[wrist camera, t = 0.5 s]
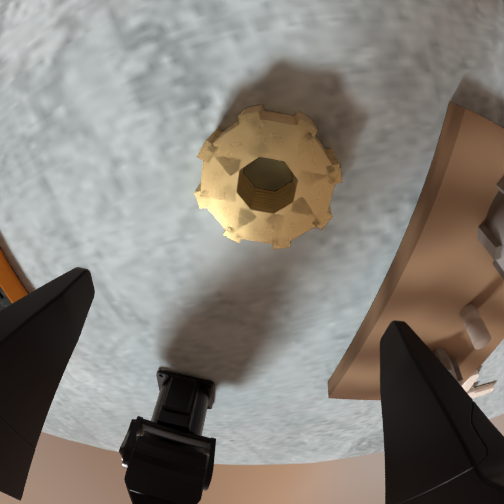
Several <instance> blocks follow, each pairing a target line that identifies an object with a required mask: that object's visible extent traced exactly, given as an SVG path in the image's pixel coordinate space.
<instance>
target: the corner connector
mask: <svg viewBox="0 0 504 504" xmlns="http://www.w3.org/2000/svg"><path fill="white" fill-rule="evenodd" d="M478 376H479V373H478V370H476V371H475V372H474V373H473V374H472V375H471V376H470V377H469V378H468V380H467V381H466V382H465V383H464V384H463V385H462V387H463V389H464V390H465V391H466V392H467V393H468V395H469V396H470V397H471V398H474V397H477V396H481V395H484V394H487V393H490V392H492V391H493V389H494V385H493V383H489V384H486V385H483V386H479V387H476V388H474V385H473V384H474V382H475V381H476V379H477V377H478Z"/></svg>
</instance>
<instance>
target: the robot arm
mask: <svg viewBox="0 0 504 504" xmlns="http://www.w3.org/2000/svg"><path fill="white" fill-rule="evenodd" d="M94 294H95V290H94V285H93V281H92V277H91V273H90V271H89V270H88V269H85V268H81V267H76V268H74V269H72V270H70V271H69V272H67V273H65V274H63V275H61V276H59V277H58V278H56V279H54V280H52V281H50V282H49V283H47V284H45V285H43V286H41V287H40V288H38V289H36V290H34V291H33V292H31V293H29V294H27V295H26V296H24V297H22V298H21V299H19V300H17V301H15V302H14V303H12V304H10V305H9V306H7V307H5V308H4V309H2V310H0V491H1V492H3V493H5V494H7V495H9V496H11V497H13V498H15V499H18V500H21V498H22V495H23V491H24V487H25V483H26V479H27V476H28V472H29V469H30V465H31V462H32V458H33V455H34V452H35V448H36V445H37V442H38V439H39V436H40V433H41V430H42V428H43V425H44V422H45V419H46V416H47V414H48V411H49V408H50V406H51V403H52V400H53V398H54V395H55V393H56V390H57V388H58V385H59V383H60V380H61V378H62V376H63V373H64V371H65V369H66V366H67V364H68V362H69V359H70V357H71V355H72V353H73V350H74V348H75V346H76V344H77V341H78V339H79V337H80V334H81V331H82V328H83V326H84V323H85V320H86V317H87V314H88V312H89V309H90V306H91V304H92V301H93V298H94ZM156 375H157V380H158V385H159V390H160V393H159V396H158V399H157V403H156V406H155V409H154V412H153V416H152V419H151V421H149V420H146V419H143V417H140V416H138V417H137V419H132V421H131V423H130V426H129V429H128V432H127V434H126V436H125V438H124V441H123V443H122V445H121V447H120V449H119V453H120V454H121V456H122V461H123V462H122V467H124V468H126V469H127V471H126V475H125V483H126V487H127V490H128V493H129V495H130V498H131V501H132V504H197V503H198V502H199V501H200V500H201V496H202V491H203V490H207V489H208V487H209V485H210V482H211V478H212V473H213V466H214V456H215V445H216V439H215V438H208V437H204V436H202V431H203V426H204V421H205V416H206V411H207V409H212V404H213V393H214V383H213V382H211V381H207V380H202V379H197V378H192V377H187V376H183V375H178V374H174V373H169V372H165V371H161V370H158V371H157V374H156ZM380 395H381V406H382V418H383V432H384V451H385V491H386V492H385V504H504V436H503V435H502V434H501V433H500V432H499V431H498V430H497V428H496V427H495V426H494V425H493V424H492V423H491V422H490V420H489V419H488V418H487V417H486V416H485V414H484V413H483V412H482V411H481V410H480V408H479V407H478V406H477V404H476V403H475V402H474V401H473V400H472V398H471V397H470V396H469V395H468V393H467V392H466V391H465V390H464V389H463V387H462V386H461V385H460V384H459V382H458V381H457V380H456V379H455V378H454V377H453V375H452V374H451V373H450V372H449V371H448V369H447V368H446V367H445V366H444V365H443V364H442V362H441V361H440V360H439V359H438V358H437V357H436V355H435V354H434V353H433V352H432V351H431V350H430V349H429V347H428V346H427V345H426V344H425V343H424V342H423V341H422V340H421V338H420V337H419V336H418V335H417V334H416V333H415V332H414V331H413V330H412V328H411V327H410V326H409V325H408V324H407V323H406V322H405V321H398V320H393V321H391V322H390V324H389V326H388V327H387V329H386V331H385V332H384V334H383V336H382V337H381V340H380ZM141 435H142V436H141Z"/></svg>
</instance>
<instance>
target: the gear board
mask: <svg viewBox="0 0 504 504" xmlns="http://www.w3.org/2000/svg"><path fill="white" fill-rule="evenodd" d="M393 320H398V321H405V322H406V323H407V324H408V325H409V326H410V327H411V328H412V330H413V331H414V332H415V333H416V334H417V335H418V336H419V337H420V338H421V340H422V341H423V342H424V343H425V344H426V345H427V346H428V347H429V349H430V350H431V351H432V352H433V353H434V354H435V355H436V357H437V358H438V359H439V360H440V361H441V362H442V364H443V365H444V366H445V367H446V368H447V369H448V371H449V372H450V373H451V374H452V375H453V377H454V378H455V379H456V380H457V381H458V382H459V384H460V385H461V386H462V385H463V384H464V383H465V382H466V381H467V380H468V378H469V377H470V376H471V375H472V374H473V373H474V372H475V371H476V370H477V369H478V368H479V367H480V366H481V364H482V363H483V362H484V361H485V360H486V359H487V358H488V356H489V355H490V354H491V353H492V352H493V351H494V349H495V348H496V347H497V346H498V345H499V343H500V342H501V341H502V340H503V338H504V128H502V127H500V126H498V125H497V124H495V123H493V122H491V121H489V120H488V119H486V118H484V117H482V116H480V115H478V114H476V113H474V112H472V111H470V110H468V109H466V108H464V107H461V106H458V105H455V104H453V103H450V102H449V106H448V110H447V113H446V117H445V121H444V124H443V128H442V131H441V135H440V138H439V141H438V145H437V148H436V151H435V154H434V157H433V160H432V163H431V166H430V169H429V172H428V175H427V178H426V181H425V184H424V186H423V189H422V192H421V195H420V197H419V200H418V203H417V205H416V208H415V210H414V213H413V215H412V218H411V220H410V223H409V225H408V228H407V230H406V233H405V235H404V237H403V240H402V242H401V244H400V247H399V249H398V251H397V253H396V256H395V258H394V260H393V262H392V264H391V266H390V269H389V271H388V273H387V275H386V277H385V279H384V281H383V283H382V285H381V287H380V289H379V292H378V294H377V296H376V297H375V299H374V301H373V303H372V305H371V307H370V309H369V311H368V313H367V315H366V317H365V319H364V321H363V322H362V324H361V326H360V328H359V330H358V332H357V333H356V335H355V337H354V339H353V341H352V342H351V344H350V346H349V348H348V349H347V351H346V353H345V354H344V356H343V358H342V360H341V361H340V363H339V365H338V366H337V368H336V370H335V371H334V373H333V374H332V376H331V378H330V379H329V381H328V396H329V398H336V399H356V400H381V395H380V340H381V337H382V336H383V334H384V332H385V331H386V329H387V327H388V326H389V324H390V322H391V321H393Z"/></svg>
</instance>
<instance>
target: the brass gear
mask: <svg viewBox="0 0 504 504" xmlns="http://www.w3.org/2000/svg"><path fill="white" fill-rule="evenodd" d="M317 132H318V130H317V128H316V126H315V124H314V122H313V120H312V119H310V118H309V117H307V116H306V115H304V114H302V113H301V112H299V111H297V113H296V114H295V116H293V115H287V114H282V113H276V112H270V111H264V109H263V105H262V104H261V105H257V106H252V107H248V108H245V109H244V110H243V111H242V112H241V113H240V115H239V116H238V121H237V122H235V123H234V124H233V125H231V126H230V127H228V128H227V129H226V130H224V131H221V130H220V129H218V128H217V129H216V130H215V131H214V132H213V133H212V134H211V136H210V137H209V138H208V139H207V140H206V141H205V143H204V144H203V146H202V148H201V150H200V152H199V154H198V155H197V157H198V158H200V159H201V160H203V167H202V180H201V183H200V184H199V186H198V187H197V189H196V190H195V192H194V193H195V196H196V199H197V202H198V205H199V207H200V209H201V208H207V209H208V210H209V211H210V212H211V213H212V214H213V216H214V217H215V218H216V219H217V220H218V221H219V222H220V224H221V225H222V226H223V227H224V228H225V231H224V234H223V235H224V236H226V237H228V238H230V239H231V240H233V241H235V242H237V243H239V242H240V241H241V239H246V240H252V241H258V242H264V243H269V244H272V245H273V249H280V248H286V247H291V240H293V239H294V238H296V237H298V236H300V235H302V234H303V233H305V232H307V231H309V230H311V229H312V228H314V227H318V228H319V229H321V230H322V229H323V227H324V226H325V225H326V224H327V223H328V221H329V220H330V219H331V218H332V217H333V216H332V213H331V209H330V205H329V204H330V201H331V197H332V194H333V190H334V186H335V183H342V176H341V169H340V164H339V162H338V160H337V158H336V156H335V154H334V152H333V150H332V148H331V149H325V148H324V147H323V145H322V144H321V142H320V141H319V139H318V138H317V136H316V135H315V134H316V133H317ZM258 157H264V158H270V159H275V160H281V161H284V162H285V163H286V164H287V166H288V167H289V168H290V170H291V171H292V173H293V174H294V175H293V180H292V182H290V183H289V184H287V185H285V186H284V187H282V188H281V189H279V190H277V191H276V192H275V191H269V190H263V189H258V188H255V187H254V186H253V184H252V183H251V182H250V180H249V179H248V178H247V177H246V175H245V174H244V173H243V172H244V167H245V166H246V165H248V164H249V163H251V162H252V161H254V160H255V159H257V158H258Z"/></svg>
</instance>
